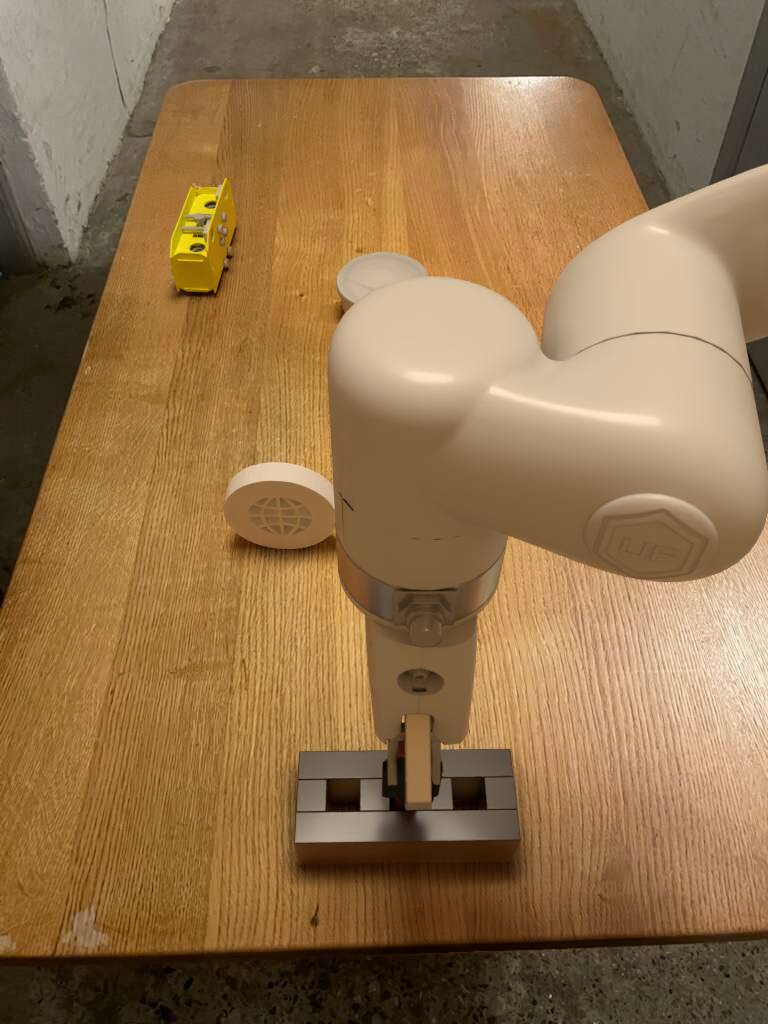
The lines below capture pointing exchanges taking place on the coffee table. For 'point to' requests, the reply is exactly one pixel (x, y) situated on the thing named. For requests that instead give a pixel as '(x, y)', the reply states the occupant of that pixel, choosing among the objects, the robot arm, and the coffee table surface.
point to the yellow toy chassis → (203, 238)
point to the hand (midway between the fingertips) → (407, 713)
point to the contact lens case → (280, 505)
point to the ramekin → (374, 274)
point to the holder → (405, 832)
